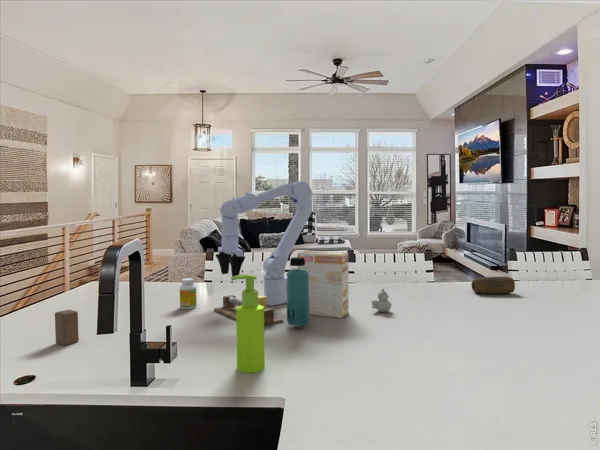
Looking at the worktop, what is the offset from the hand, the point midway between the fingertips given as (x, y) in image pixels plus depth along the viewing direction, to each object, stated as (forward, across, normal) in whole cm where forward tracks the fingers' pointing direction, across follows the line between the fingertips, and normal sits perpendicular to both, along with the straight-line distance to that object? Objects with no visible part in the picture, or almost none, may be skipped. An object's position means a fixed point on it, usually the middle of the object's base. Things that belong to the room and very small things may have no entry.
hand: (230, 275), depth 149 cm
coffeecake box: (+10, +28, +18) cm, 35 cm away
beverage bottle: (+10, +36, +2) cm, 38 cm away
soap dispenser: (+11, +53, -24) cm, 59 cm away
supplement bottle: (+11, -6, -13) cm, 18 cm away
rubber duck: (+10, +38, +34) cm, 52 cm away
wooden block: (+11, +10, -52) cm, 54 cm away
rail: (+10, +16, -3) cm, 19 cm away
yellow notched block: (+9, +22, -3) cm, 24 cm away
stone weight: (+10, +46, +88) cm, 100 cm away
